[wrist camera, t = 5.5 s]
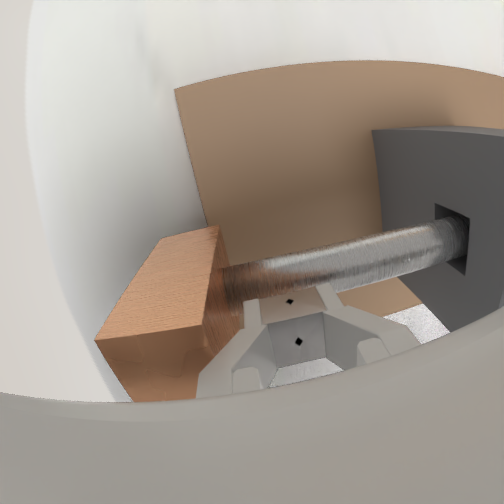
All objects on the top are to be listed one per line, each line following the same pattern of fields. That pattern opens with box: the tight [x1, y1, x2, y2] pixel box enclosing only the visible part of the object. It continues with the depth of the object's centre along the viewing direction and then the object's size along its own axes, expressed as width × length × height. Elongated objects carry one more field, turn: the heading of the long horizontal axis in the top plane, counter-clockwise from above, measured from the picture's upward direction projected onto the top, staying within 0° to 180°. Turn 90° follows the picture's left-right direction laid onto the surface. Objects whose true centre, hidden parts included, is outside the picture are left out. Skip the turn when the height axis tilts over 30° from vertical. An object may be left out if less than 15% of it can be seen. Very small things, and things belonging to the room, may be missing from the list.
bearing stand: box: [174, 61, 504, 332], centre depth 14 cm, size 20×32×13 cm, turn 102°
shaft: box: [94, 214, 470, 402], centre depth 11 cm, size 4×24×8 cm, turn 102°
